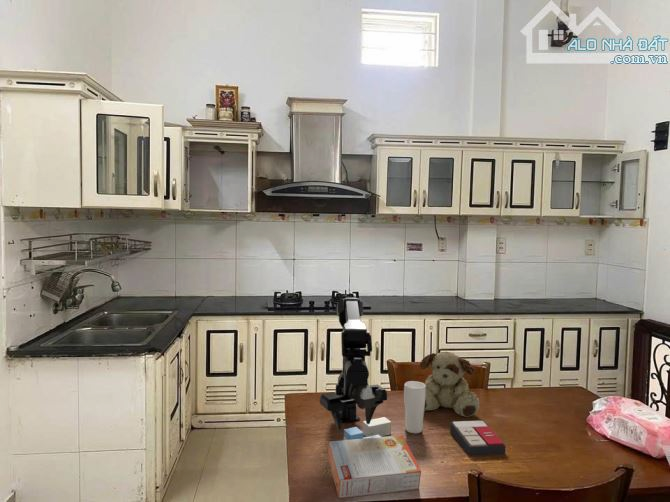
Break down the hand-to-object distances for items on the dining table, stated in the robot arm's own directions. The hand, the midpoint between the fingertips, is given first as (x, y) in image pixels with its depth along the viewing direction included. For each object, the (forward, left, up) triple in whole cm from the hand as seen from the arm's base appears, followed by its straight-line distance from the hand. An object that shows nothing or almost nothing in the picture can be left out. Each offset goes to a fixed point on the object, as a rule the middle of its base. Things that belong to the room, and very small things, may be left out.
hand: (353, 426), depth 126 cm
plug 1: (0, 0, -9) cm, 9 cm away
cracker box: (+14, +10, -5) cm, 18 cm away
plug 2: (-10, +14, -9) cm, 19 cm away
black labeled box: (+8, +38, -10) cm, 40 cm away
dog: (-18, +49, -9) cm, 53 cm away
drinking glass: (-7, +26, -9) cm, 28 cm away
